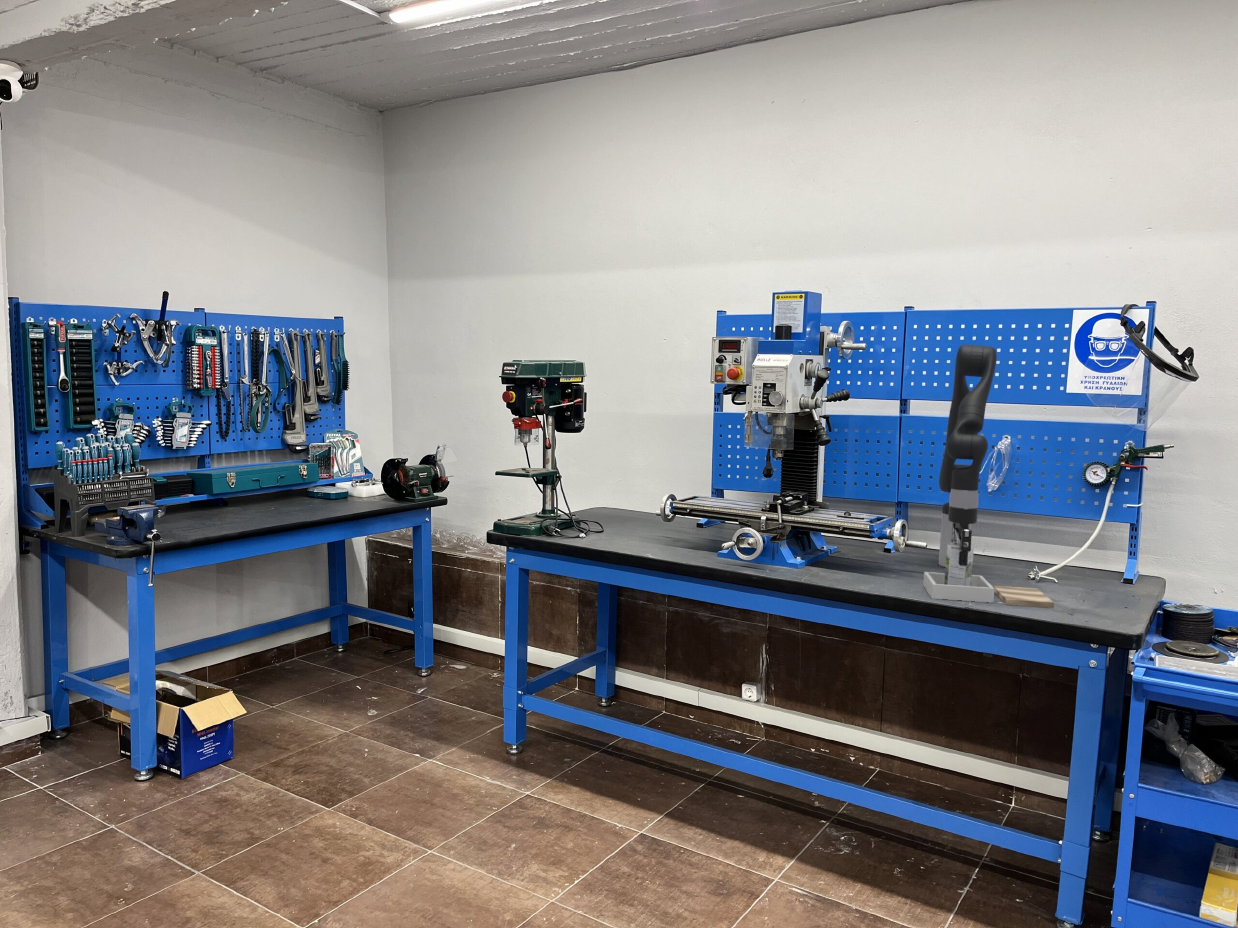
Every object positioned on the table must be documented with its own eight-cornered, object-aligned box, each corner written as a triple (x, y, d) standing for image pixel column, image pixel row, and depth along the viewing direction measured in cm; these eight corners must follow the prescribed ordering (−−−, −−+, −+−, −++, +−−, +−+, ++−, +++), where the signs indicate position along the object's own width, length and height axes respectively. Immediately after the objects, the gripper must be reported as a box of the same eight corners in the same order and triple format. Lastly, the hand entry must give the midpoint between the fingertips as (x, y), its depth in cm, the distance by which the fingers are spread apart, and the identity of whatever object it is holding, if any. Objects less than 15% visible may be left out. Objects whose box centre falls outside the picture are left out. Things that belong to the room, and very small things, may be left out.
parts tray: (923, 585, 257) (924, 571, 256) (980, 589, 254) (981, 575, 254) (932, 598, 241) (933, 584, 241) (993, 602, 238) (994, 588, 238)
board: (992, 590, 252) (992, 585, 252) (1036, 593, 250) (1037, 588, 250) (1006, 604, 237) (1006, 599, 237) (1053, 608, 235) (1054, 602, 234)
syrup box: (950, 590, 252) (953, 540, 250) (971, 593, 248) (974, 543, 246) (943, 593, 247) (946, 543, 246) (964, 597, 244) (967, 546, 242)
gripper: (944, 501, 253) (941, 556, 254) (954, 508, 239) (950, 566, 240) (972, 502, 251) (968, 558, 253) (983, 509, 237) (979, 568, 239)
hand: (959, 562), depth 246 cm, fingers open, 8 cm apart
